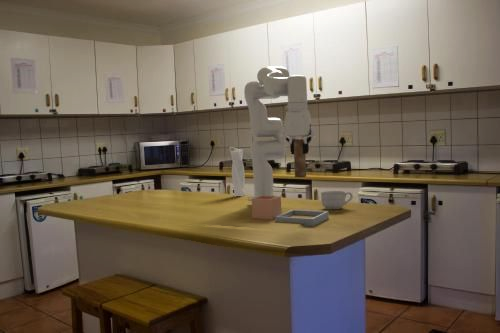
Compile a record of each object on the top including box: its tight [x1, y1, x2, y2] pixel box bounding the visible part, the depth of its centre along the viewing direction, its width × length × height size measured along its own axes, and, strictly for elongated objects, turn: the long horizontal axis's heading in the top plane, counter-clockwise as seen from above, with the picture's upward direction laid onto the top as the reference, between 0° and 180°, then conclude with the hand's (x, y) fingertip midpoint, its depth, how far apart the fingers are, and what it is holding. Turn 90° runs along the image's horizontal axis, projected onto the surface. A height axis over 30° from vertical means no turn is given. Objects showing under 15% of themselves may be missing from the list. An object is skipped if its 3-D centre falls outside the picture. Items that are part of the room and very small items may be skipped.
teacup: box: [320, 190, 354, 210], centre depth 212 cm, size 14×11×8 cm
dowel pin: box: [293, 138, 307, 178], centre depth 187 cm, size 4×4×15 cm
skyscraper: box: [229, 146, 246, 198], centre depth 266 cm, size 8×8×28 cm
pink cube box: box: [251, 195, 283, 220], centre depth 197 cm, size 9×9×9 cm
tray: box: [274, 209, 330, 227], centre depth 189 cm, size 16×16×3 cm
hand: (299, 153), depth 187 cm, fingers closed on dowel pin, 4 cm apart
